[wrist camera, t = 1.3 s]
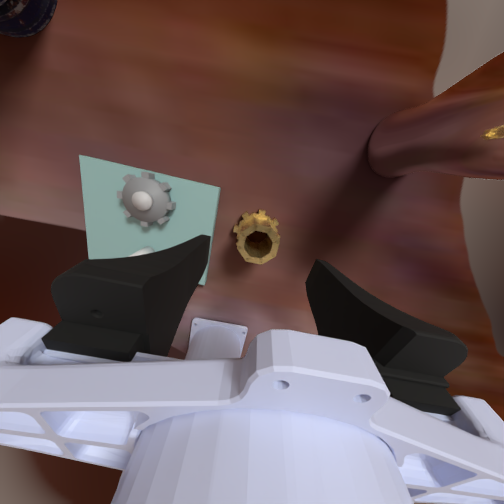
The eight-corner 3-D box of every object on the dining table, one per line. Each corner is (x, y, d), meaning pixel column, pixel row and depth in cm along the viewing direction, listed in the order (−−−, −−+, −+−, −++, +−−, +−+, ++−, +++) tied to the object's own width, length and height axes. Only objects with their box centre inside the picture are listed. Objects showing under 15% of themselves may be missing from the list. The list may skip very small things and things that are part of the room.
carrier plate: (206, 281, 24) (198, 299, 21) (95, 260, 23) (66, 274, 19) (220, 187, 20) (214, 188, 16) (87, 156, 19) (47, 149, 15)
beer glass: (410, 188, 20) (768, 198, 6) (351, 174, 20) (598, 152, 6) (446, 114, 18) (1152, -137, 4) (380, 96, 17) (920, -267, 3)
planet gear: (272, 256, 23) (278, 275, 18) (230, 247, 23) (225, 264, 18) (284, 214, 21) (294, 223, 17) (239, 204, 21) (235, 210, 16)
